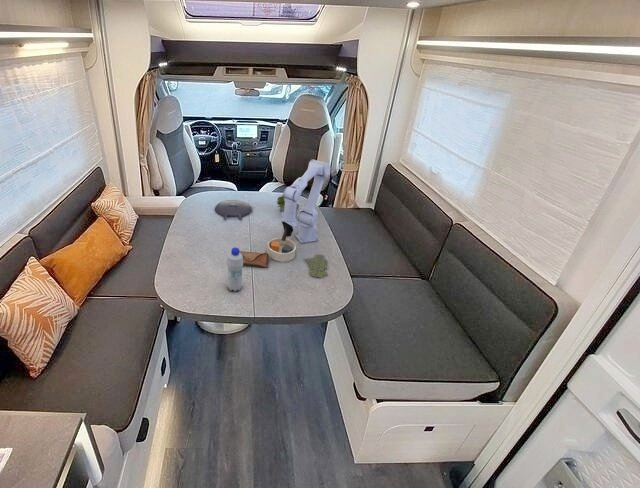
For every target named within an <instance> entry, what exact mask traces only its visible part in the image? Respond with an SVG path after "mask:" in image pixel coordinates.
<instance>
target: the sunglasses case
mask: <svg viewBox="0 0 640 488" xmlns="http://www.w3.org/2000/svg"><path fill="white" fill-rule="evenodd" d="M240 253H241V254H242V256H243V266H246V267H252V268H253V267H254V268H266V269H267V268H268V267H269V256H268V254H267V252H255V251H244V250H243V251H241V250H240ZM243 266H242V267H243Z"/></svg>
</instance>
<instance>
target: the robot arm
mask: <svg viewBox="0 0 640 488" xmlns="http://www.w3.org/2000/svg"><path fill="white" fill-rule="evenodd" d="M307 165H308V166H307V169H306V170H305V172H304V174H303V175H302V176H301V177H298V178H296V180H294V182H293V183H292V184H291V185H290V186H287V187H285V188H284V190H283V193H282V196H283V197H284V201H285V207H284V212H282V213H281V212H280V213H281V215H280V216H281V217H282V218H281V219H280V220H281V224H282V228H283V231H284V230H285V227H286V236H287V237H286V238H288V237H291V236H292V235H293V232H294V231H295V230H298V233H297V234H295V237H296V238H297V240H298V241H299V242H300V243H301V244H303V243H311V242H317V235H318V225H317V224H318V218H319V213H318V211H317V210H316V206H317V203H318V200H319V197H320V194H321V191H322V188H323V185H324V182H325V180H328V177H329V175H330V172H331V165H330V163H329V162H324V161H320V160H316V159H314V158H313V159H311V160H310V161H309V162H308V164H307ZM312 178H314V179H313V182H312V185H311V188H310V192H309V194H308V199H307V200H306V204H305V205H304V206H302V207H300V209H299V211H298V213H297V211H296V207H297V204H298V201H299V199H300V197H301V195H302V193H303V191H304V190H305V189H306V187H308V182H310V181H311V179H312ZM297 222H298V224H297Z"/></svg>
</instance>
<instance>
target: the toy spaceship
mask: <svg viewBox="0 0 640 488" xmlns="http://www.w3.org/2000/svg"><path fill="white" fill-rule="evenodd" d="M252 210H253V208H252V206H251V205H250V204H249V203H248V202H245V201H243V200H238V199H227V200H224V201H223V200H222V201H221V202H219V203H217V204H216V205H215V207H214V211H215V213H216V214H218V215H219V216H222V218H223V220H226V219H227V218H228V217H236V218H238V220H240V221H242V220H243V218H244V217H246V216H248V215H250V214H251V213H252Z"/></svg>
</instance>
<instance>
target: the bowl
mask: <svg viewBox="0 0 640 488" xmlns="http://www.w3.org/2000/svg"><path fill="white" fill-rule="evenodd" d="M281 239H282V237H275V238H271V239H270V240H269V241H267V245H266V246H267V247H266V253H267V254H268V258H270V259H271V260H273V261H276V262H280V263H287V262H290V261H293V259H294V258H295V257H296V254H297V253H296V251H297V245H296V243H295V242H294V241H292V240H291V239H288V238H286V240H285V241H282V240H281ZM272 242H279V252H276V251H273V250H272V249H271V243H272ZM285 245H287V246H290V247H292V252H289V253H282V248H283V247H284V246H285Z"/></svg>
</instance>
